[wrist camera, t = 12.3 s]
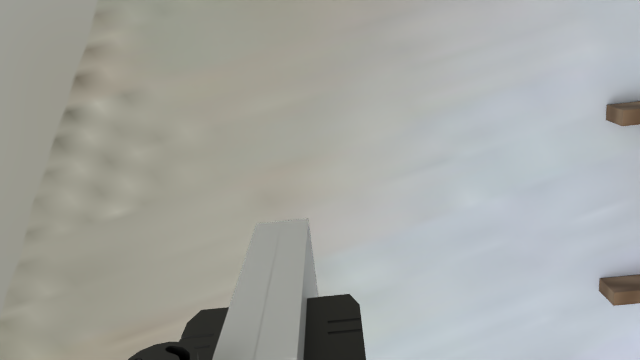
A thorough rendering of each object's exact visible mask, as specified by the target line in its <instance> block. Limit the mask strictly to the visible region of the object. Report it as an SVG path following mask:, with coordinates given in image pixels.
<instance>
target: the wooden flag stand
mask: <svg viewBox="0 0 640 360" xmlns="http://www.w3.org/2000/svg"><path fill="white" fill-rule="evenodd" d="M606 120H608V121H610V122H613V123H615V124H618V125H621V126H629V125H638V124H640V101H637V102H628V103H619V104H610V105H607V110H606ZM599 291H600V292H601V293H602V294H603V295H604V296H605V297H606V298H607V299H608V300H609V301H610V302H611V303H612V304H613V305H614V306H615V305H625V304H636V303H640V275H631V276H620V277H610V278H600V281H599Z"/></svg>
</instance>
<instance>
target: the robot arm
mask: <svg viewBox="0 0 640 360" xmlns="http://www.w3.org/2000/svg"><path fill="white" fill-rule="evenodd" d="M128 360H366V356H365V348H364V339H363V331H362V322H361V314H360V305H359V304H358V303H357V302H356V300H355V299H354V298H353V297H352V296H351V295H350V294H345V295H334V296H324V297H318V290H317V282H316V275H315V267H314V259H313V251H312V244H311V236H310V228H309V220H308V218H306V219H296V220H287V221H277V222H267V223H258V224H256V226H255V229H254V232H253V235H252V238H251V241H250V245H249V248H248V251H247V254H246V257H245V260H244V263H243V266H242V269H241V272H240V275H239V278H238V281H237V285H236V288H235V291H234V294H233V297H232V300H231V303H230V306H229V307H228V308H217V309H207V310H201V311H200V312H199V313H198V314H197V315H195V316H194V317H193V318H192V319H191V320H190V321H189V322H188V323H187V325H186V327H185V330H184V332H183V334H182V336H181V339H180V341H179V342H166V343H161V344H156V345H153V346H151V347H148V348H146V349H143V350H141V351H139V352H138V353H136V354H135V355H133V356H132V357H130V358H129V359H128Z"/></svg>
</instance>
